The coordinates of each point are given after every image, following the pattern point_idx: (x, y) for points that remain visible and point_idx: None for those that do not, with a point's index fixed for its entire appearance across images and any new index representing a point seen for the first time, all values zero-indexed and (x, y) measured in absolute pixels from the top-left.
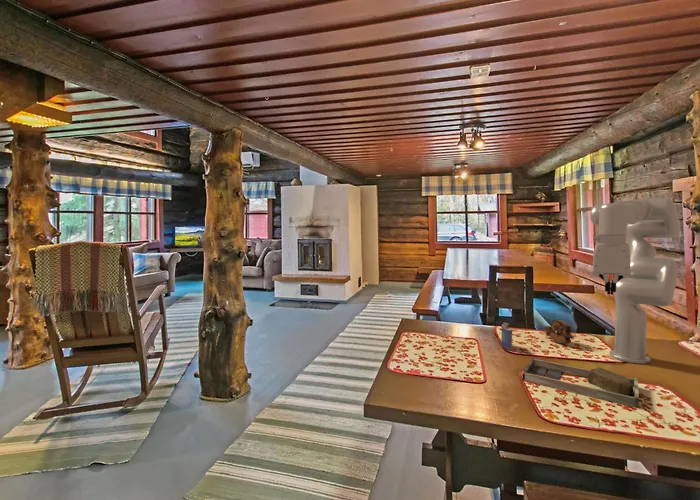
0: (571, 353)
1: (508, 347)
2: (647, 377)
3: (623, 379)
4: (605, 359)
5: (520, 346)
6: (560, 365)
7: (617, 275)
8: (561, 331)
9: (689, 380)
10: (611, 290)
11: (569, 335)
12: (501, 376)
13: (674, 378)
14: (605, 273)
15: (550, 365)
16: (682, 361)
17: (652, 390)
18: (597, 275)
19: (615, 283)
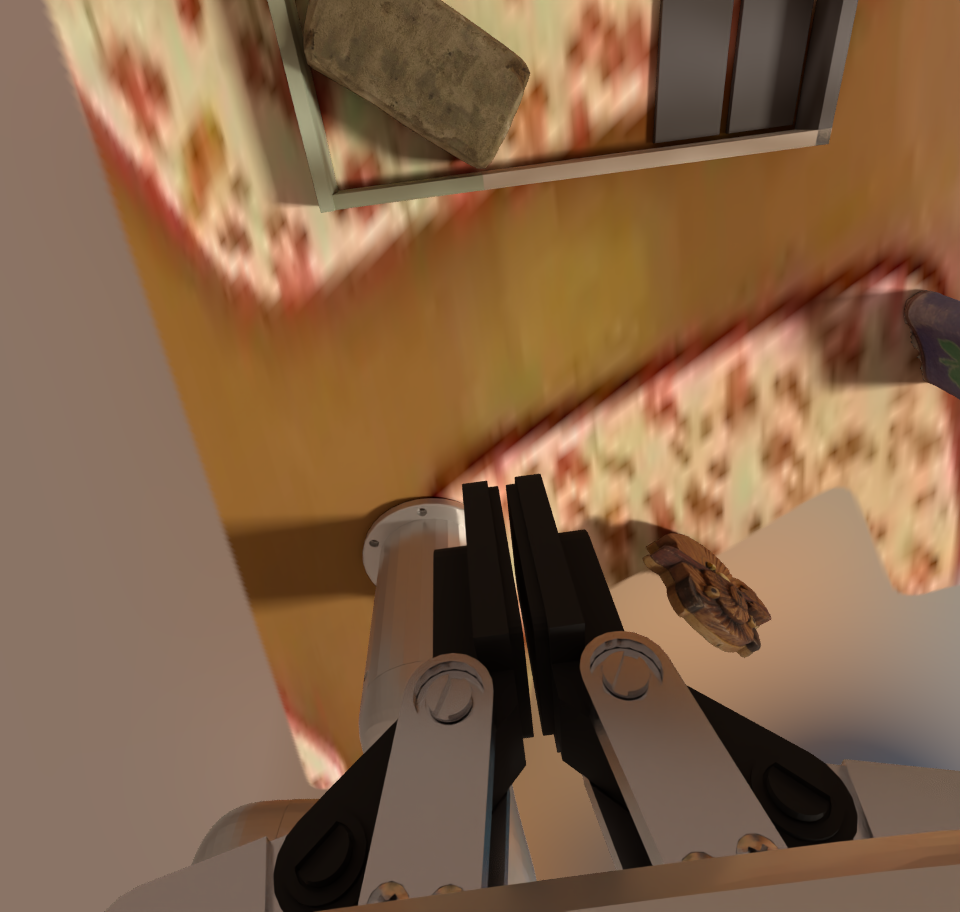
0: (631, 457)
1: (936, 294)
2: (330, 374)
3: (340, 21)
4: (502, 476)
5: (854, 396)
6: (675, 148)
7: (391, 882)
8: (705, 577)
9: (212, 451)
10: (490, 519)
11: (666, 564)
12: None
13: (255, 435)
14: (759, 859)
15: (721, 141)
16: (288, 624)
17: (271, 213)
18: (879, 797)
19: (443, 666)
